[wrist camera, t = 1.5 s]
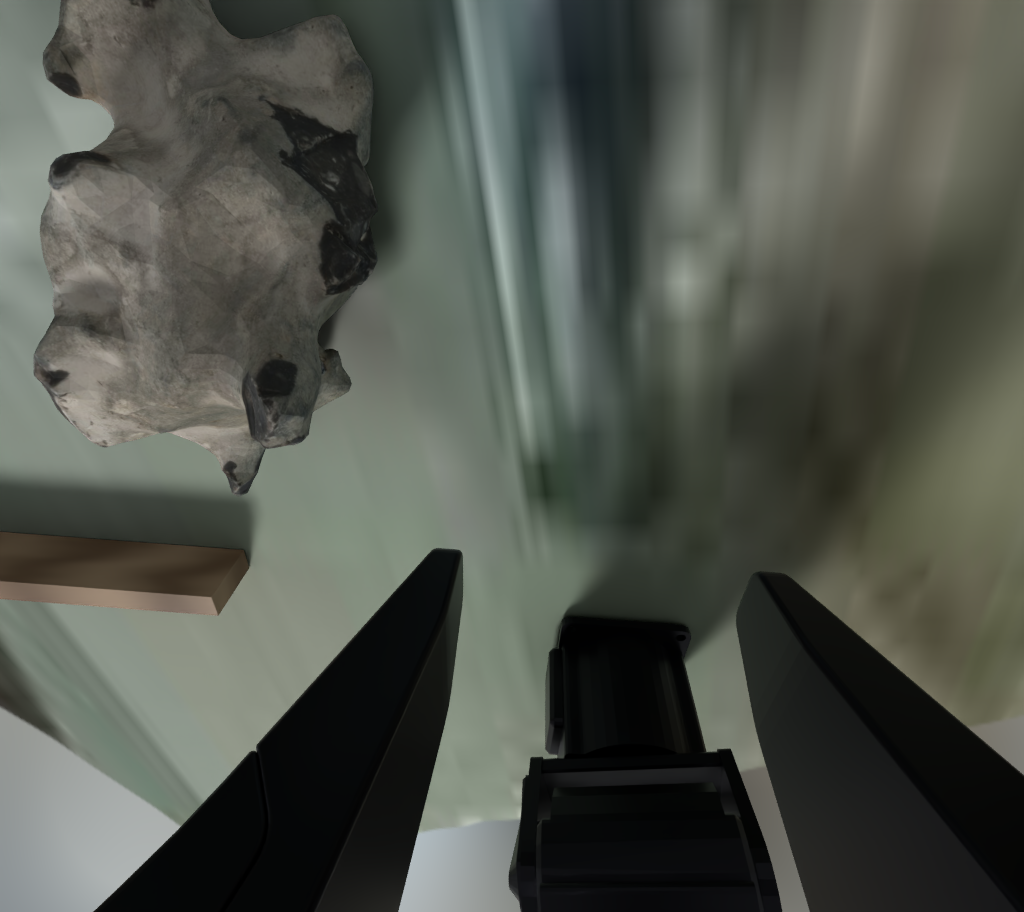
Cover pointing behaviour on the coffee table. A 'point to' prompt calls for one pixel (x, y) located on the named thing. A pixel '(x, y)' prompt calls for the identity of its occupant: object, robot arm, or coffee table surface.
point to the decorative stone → (204, 226)
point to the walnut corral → (118, 573)
